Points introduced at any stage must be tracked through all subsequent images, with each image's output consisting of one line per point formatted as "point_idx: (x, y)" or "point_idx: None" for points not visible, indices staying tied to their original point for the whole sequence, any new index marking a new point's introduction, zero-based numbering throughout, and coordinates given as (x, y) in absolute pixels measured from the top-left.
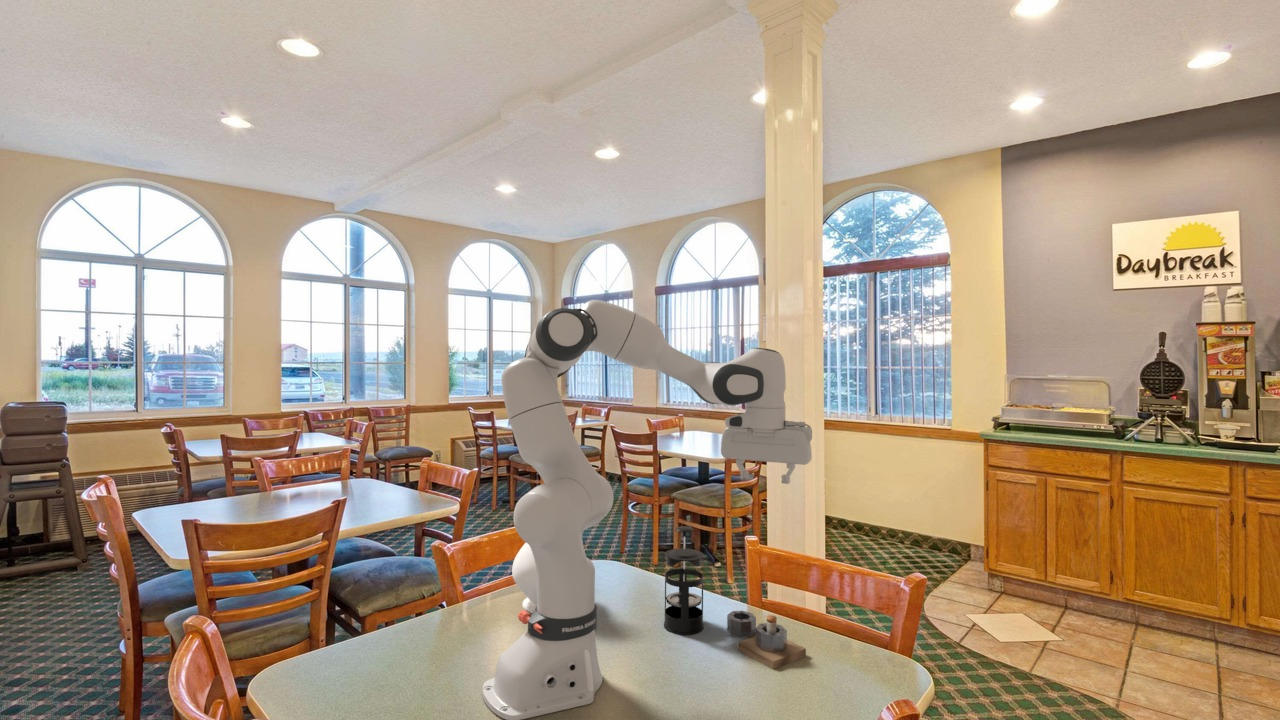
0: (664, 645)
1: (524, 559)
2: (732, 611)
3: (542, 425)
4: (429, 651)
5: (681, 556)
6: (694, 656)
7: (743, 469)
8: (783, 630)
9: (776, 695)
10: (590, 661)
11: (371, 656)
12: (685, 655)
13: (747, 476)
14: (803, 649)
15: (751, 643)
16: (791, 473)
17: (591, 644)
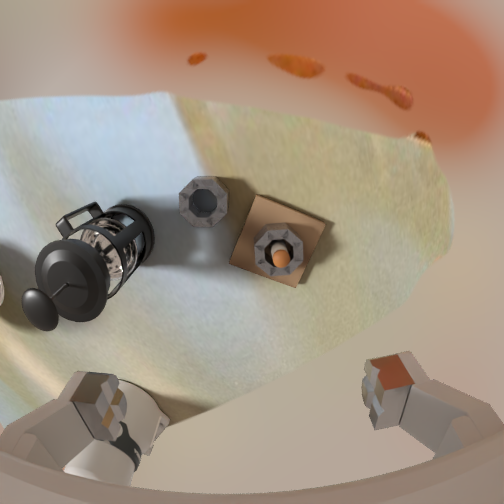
0: (141, 303)
1: None
2: (179, 193)
3: None
4: (23, 400)
5: (78, 309)
6: (189, 308)
7: (75, 432)
8: (298, 246)
9: (315, 333)
10: (154, 436)
11: (14, 415)
12: (178, 312)
13: (117, 406)
14: (323, 228)
15: (247, 254)
16: (444, 385)
17: (144, 439)
